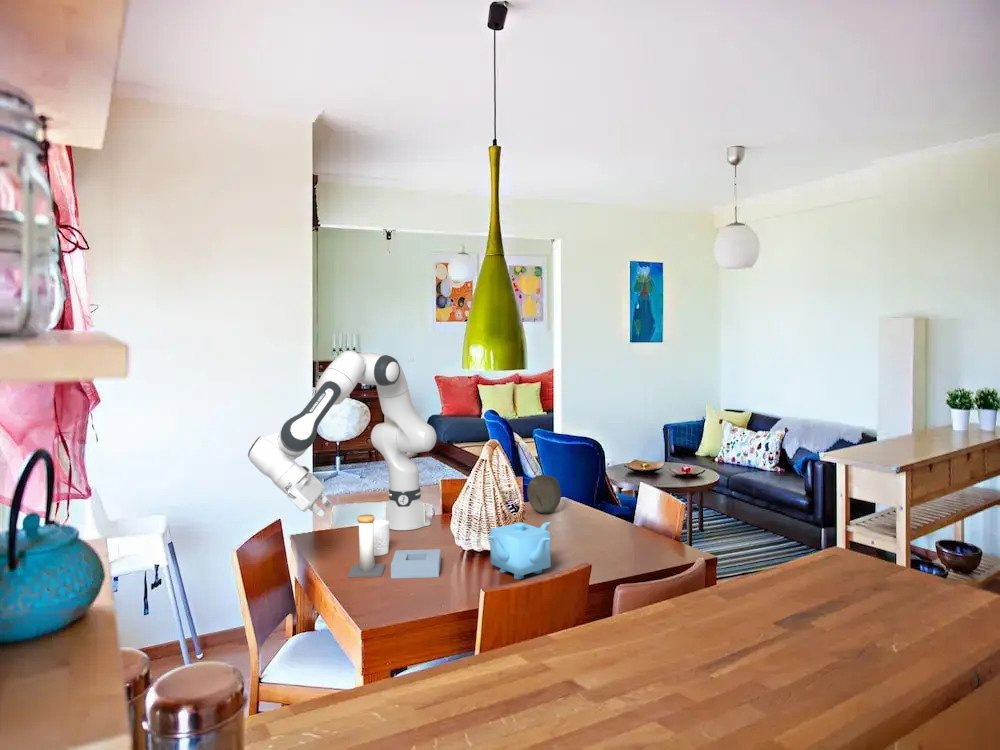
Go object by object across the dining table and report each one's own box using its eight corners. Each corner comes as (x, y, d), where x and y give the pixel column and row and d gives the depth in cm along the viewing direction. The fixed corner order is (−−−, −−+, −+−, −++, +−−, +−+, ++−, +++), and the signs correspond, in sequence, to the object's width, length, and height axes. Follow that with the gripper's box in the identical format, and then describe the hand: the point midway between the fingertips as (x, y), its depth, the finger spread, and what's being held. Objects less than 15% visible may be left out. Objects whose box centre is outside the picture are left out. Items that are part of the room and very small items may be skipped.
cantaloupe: (569, 513, 275) (568, 476, 274) (539, 519, 268) (538, 480, 267) (549, 506, 287) (548, 470, 286) (520, 511, 280) (519, 474, 279)
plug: (360, 566, 213) (359, 514, 212) (376, 566, 213) (375, 514, 212) (357, 572, 208) (356, 519, 207) (374, 571, 208) (373, 518, 207)
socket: (396, 562, 218) (395, 550, 218) (440, 561, 219) (440, 549, 218) (391, 578, 204) (390, 565, 204) (438, 577, 205) (438, 563, 204)
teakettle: (494, 561, 219) (493, 515, 218) (553, 562, 216) (553, 515, 216) (486, 582, 200) (485, 532, 199) (551, 583, 198) (550, 533, 197)
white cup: (393, 549, 232) (392, 519, 232) (386, 556, 224) (385, 526, 224) (370, 548, 233) (369, 519, 232) (362, 556, 225) (362, 526, 225)
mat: (353, 566, 215) (353, 564, 215) (385, 565, 216) (385, 563, 216) (347, 577, 206) (347, 575, 205) (381, 576, 206) (381, 574, 206)
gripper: (291, 480, 200) (326, 512, 201) (307, 465, 221) (340, 494, 222) (276, 496, 200) (312, 527, 202) (294, 479, 221) (326, 508, 222)
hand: (326, 510), depth 212 cm, fingers open, 8 cm apart
